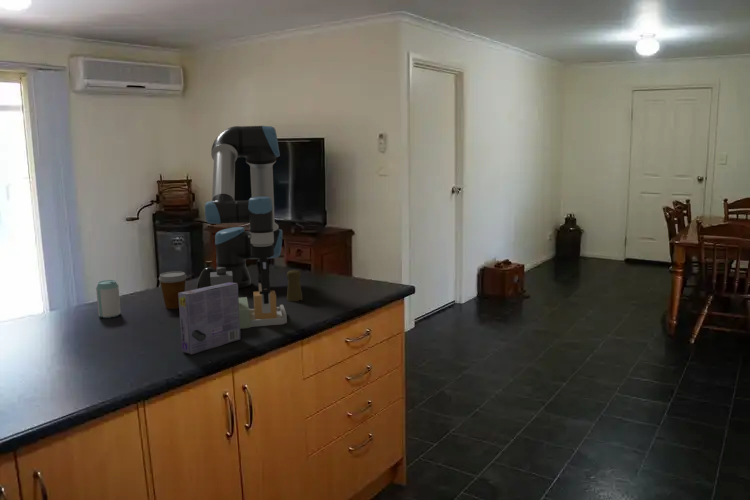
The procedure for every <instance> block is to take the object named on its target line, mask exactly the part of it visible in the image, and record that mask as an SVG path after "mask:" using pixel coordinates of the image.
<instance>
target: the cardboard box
mask: <svg viewBox="0 0 750 500" xmlns="http://www.w3.org/2000/svg"><path fill="white" fill-rule="evenodd" d="M252 293H253V294H252V295H253V296H252V297H253V309H254V315H255V320H257V319H269V318H277V308H276V307H277V294H276V291H275V290H274V289H273V290H271V292H270V305H271V313H262V297H261V294H260V291H259V290H258V291H253V292H252Z"/></svg>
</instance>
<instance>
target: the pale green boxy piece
mask: <svg viewBox="0 0 750 500" xmlns="http://www.w3.org/2000/svg"><path fill="white" fill-rule="evenodd" d="M215 269H216V272H210V282H211V286H214V285H219V284H224V283H229V282H230V283H233V276H232V271H226V268H225V267H218V268H217V267H216V268H215ZM238 299H239V319H240V330H242V329H250V328H251V327H252V328H254V327H266V326H267V327H268V326H279V325H285V324H288V318H287V317H288V316H287V312H286V309H285V307H284V304H279V306H276V308H277V318H269V319H257V320H255V315H254V308H250V307H249V302H248V301H249V300H248V298H247V296H245V297H238Z"/></svg>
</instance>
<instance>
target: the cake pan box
mask: <svg viewBox="0 0 750 500" xmlns="http://www.w3.org/2000/svg"><path fill="white" fill-rule="evenodd" d="M178 298H179V308H178V309H179V310H178V312H179V324H180V325H179V327H180V340H181V342H180V343H181V351H182V352H183V353H186V354H187V355H190V356H192V355H195V354H197V353H200V352H201V353H202V352H204V351H208V350H211V349H215V348H219V347H221V346H223V345H226V344H229V343H233V342H236V341H239V340H240V341H241V329H240V319H239V299H238V298H239V289H238V284H237V283H230V282H229V283H224V284H219V285H214V286H209V287H204V288H199V289H197V288H195V289H191V290H185V292H180V293H178Z"/></svg>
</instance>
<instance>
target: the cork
mask: <svg viewBox="0 0 750 500" xmlns="http://www.w3.org/2000/svg"><path fill="white" fill-rule="evenodd" d="M301 275H302V273H301V271H300V270H298V269H297V270H296V269H292V270H288V271H287V273H286V277H287V280H288V282H287V289H286V290H287V292H286V293H287V294H286V301H287V300H288V302H300V301H299V300H301V301H303V300H304V299H303V292H302V286H301V281H300V279H301V278H302V277H301Z"/></svg>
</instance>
